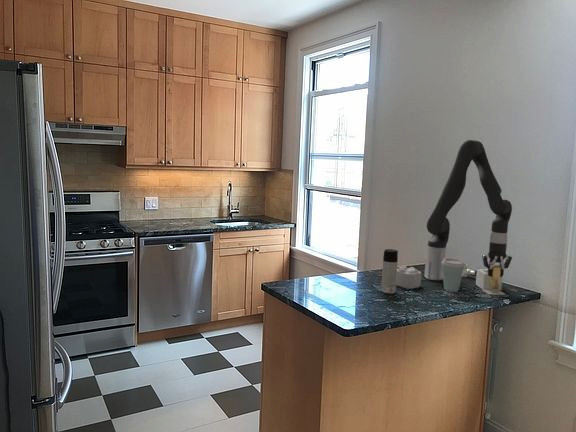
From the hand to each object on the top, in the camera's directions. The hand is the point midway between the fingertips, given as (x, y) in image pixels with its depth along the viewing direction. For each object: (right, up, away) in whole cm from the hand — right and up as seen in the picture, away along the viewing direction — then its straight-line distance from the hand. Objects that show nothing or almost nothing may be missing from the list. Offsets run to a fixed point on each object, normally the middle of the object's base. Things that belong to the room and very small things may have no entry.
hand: (495, 276), depth 229 cm
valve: (-2, -5, +28) cm, 29 cm away
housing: (+1, -7, +11) cm, 13 cm away
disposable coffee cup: (-20, -7, +3) cm, 22 cm away
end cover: (0, -6, +1) cm, 6 cm away
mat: (0, -8, +1) cm, 8 cm away
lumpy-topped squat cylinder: (-40, -6, +10) cm, 42 cm away
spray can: (-52, -7, -4) cm, 53 cm away
